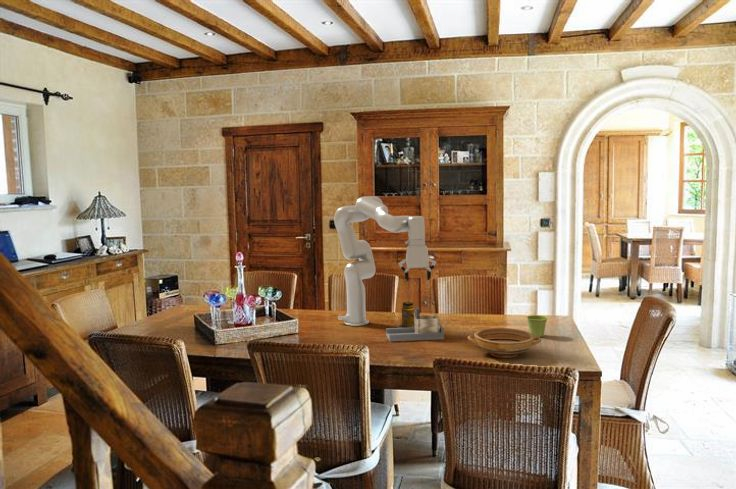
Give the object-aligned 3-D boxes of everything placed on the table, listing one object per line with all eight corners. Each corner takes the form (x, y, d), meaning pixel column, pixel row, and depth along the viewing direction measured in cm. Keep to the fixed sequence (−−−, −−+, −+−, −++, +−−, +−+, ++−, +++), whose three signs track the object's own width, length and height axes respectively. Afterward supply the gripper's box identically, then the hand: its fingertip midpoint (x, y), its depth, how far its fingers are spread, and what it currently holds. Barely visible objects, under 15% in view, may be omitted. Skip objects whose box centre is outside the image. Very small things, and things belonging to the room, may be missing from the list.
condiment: (417, 326, 286) (417, 303, 285) (404, 329, 281) (403, 305, 280) (408, 324, 292) (408, 300, 291) (395, 326, 287) (394, 302, 286)
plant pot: (546, 339, 259) (547, 320, 258) (525, 337, 263) (525, 319, 262) (548, 334, 268) (548, 315, 267) (527, 332, 271) (527, 314, 270)
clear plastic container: (417, 336, 263) (417, 310, 261) (414, 332, 271) (414, 306, 270) (439, 336, 264) (439, 309, 262) (435, 331, 272) (435, 305, 271)
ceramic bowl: (467, 361, 229) (467, 341, 228) (467, 344, 253) (467, 326, 252) (545, 363, 224) (545, 343, 223) (537, 346, 248) (537, 328, 247)
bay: (389, 341, 260) (389, 330, 259) (386, 334, 272) (385, 324, 271) (444, 339, 262) (444, 328, 262) (438, 332, 274) (438, 322, 274)
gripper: (398, 244, 260) (400, 282, 261) (437, 243, 261) (438, 280, 262) (397, 243, 267) (398, 279, 269) (434, 241, 268) (435, 278, 270)
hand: (417, 280), depth 266 cm, fingers open, 9 cm apart
